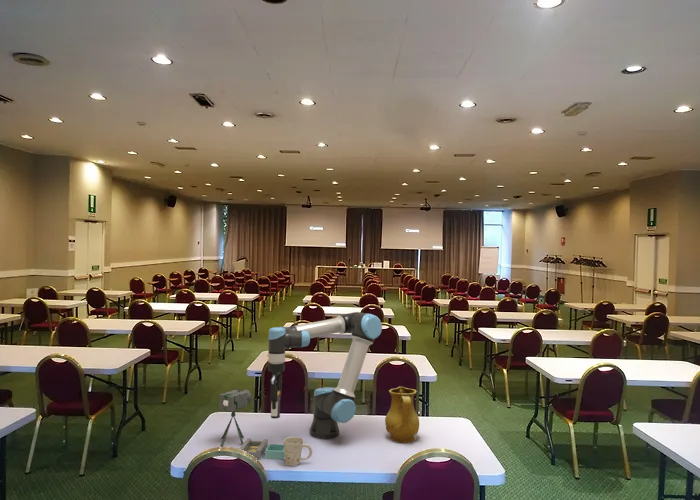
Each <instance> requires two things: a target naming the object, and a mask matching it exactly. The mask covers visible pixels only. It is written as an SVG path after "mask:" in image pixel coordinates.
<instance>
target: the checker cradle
mask: <svg viewBox="0 0 700 500" xmlns="http://www.w3.org/2000/svg"><path fill="white" fill-rule="evenodd" d="M268 445H269V439H268V438H263V439H262V440H252V438H250V437H247V438H246V439H245V441H243V444H242V445H241V444H240V447H239V448H238V449H241V450H244V451H246V452H247V453H249V454H251V455H253V456H254V457H255V458H257V459H256V460H261V459H262V458H263V455H265V450H266V449H267V447H268Z"/></svg>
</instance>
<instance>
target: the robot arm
mask: <svg viewBox="0 0 700 500" xmlns="http://www.w3.org/2000/svg"><path fill="white" fill-rule="evenodd" d="M382 331H383V324H382V321H381V319H380V318H379V317H378V316H377V315H374V314H372V313H366V312H359V311H355V312H350V313H345V314H341V315H340V314H339V315H337V316H336V317H334V318H331V319H330V318H329V319H324V320H318V321H313V322H306V323H303V324H297V325H293V326H288V327H287V326H277V327H275V326H274V327H271V328H269V330H268V339H267V340H268V354H266V356H267V358H268V359H267V360H268V363H267V371H268V372H270V373H271V376H270V380H269V384H270V385H269V387H270V388H269V392H270V394H269V402H270V417H271V416H277V414H278V401H277V393H278V389H279V390H280V399H283V395H282V389H283V388H282V387H283V386H282V384H283V381H282V379H283V373H282V372H285V369H286V363H285V361H286V349H291V348H292V349H293V348H304V347H308V346H309V345H310V342H311V339H314V338H319V337H323V336H328V335H333V334H337V333H338V334H340V335H343V334H351V335H350V336H351V337H350V338H351V339H352V340H351V345H350V348H349V351H348V354H347V356H346V359H345V362H344V366H343V369H342V371H341V374H340V377H339V380H338V384H337V386H336V387H331V386H329V387H326V386H325V387H319V388H316V389H314V393H313V417H312V418H313V419H312V421H311V424H310V428H309V435H310V436H311V437H313V438H317V439H322V440H323V439H327V440H328V439H334V438H336V437H338V436H339V435H340V427H339V424H338V423H341V424H345V423H347V422H349V421H351V420H352V419H353V418H354V416H355V414H356V411H357V406H356V403H355V400H356V395H355V389H356V387H357V383H358V381H359V377H360V374H361V371H362V368H363V365H364V362H365V359H366V355H367V353H368V349H369V346H371V345H373V344H374V342H375V339H377V338H378V337H380V335H381V333H382Z"/></svg>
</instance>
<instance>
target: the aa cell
mask: <svg viewBox="0 0 700 500" xmlns="http://www.w3.org/2000/svg"><path fill="white" fill-rule="evenodd" d="M280 396H281V395H280V390H279V389H278V393H277V401H278V414H277V416H271V415H270V418H271V419H280V417H281V398H280Z"/></svg>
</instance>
